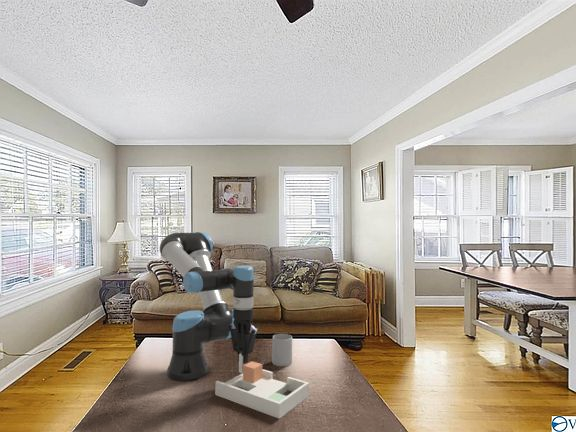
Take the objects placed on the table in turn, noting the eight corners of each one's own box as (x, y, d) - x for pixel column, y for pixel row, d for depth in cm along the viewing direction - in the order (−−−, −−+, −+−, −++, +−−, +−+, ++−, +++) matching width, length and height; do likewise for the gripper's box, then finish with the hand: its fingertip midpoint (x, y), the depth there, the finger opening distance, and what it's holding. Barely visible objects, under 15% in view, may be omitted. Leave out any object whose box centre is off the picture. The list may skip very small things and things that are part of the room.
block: (242, 379, 134) (243, 365, 134) (251, 374, 138) (251, 361, 138) (253, 382, 131) (253, 368, 131) (262, 377, 135) (262, 364, 136)
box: (215, 394, 127) (215, 381, 127) (248, 376, 142) (248, 365, 142) (279, 418, 112) (279, 403, 112) (309, 395, 127) (309, 382, 127)
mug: (288, 367, 152) (289, 340, 152) (269, 365, 154) (269, 338, 154) (296, 357, 163) (296, 332, 163) (278, 355, 166) (278, 330, 166)
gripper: (223, 307, 138) (222, 370, 138) (250, 312, 131) (249, 379, 130) (236, 303, 144) (236, 364, 144) (263, 308, 137) (262, 372, 137)
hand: (242, 371), depth 137 cm, fingers closed
